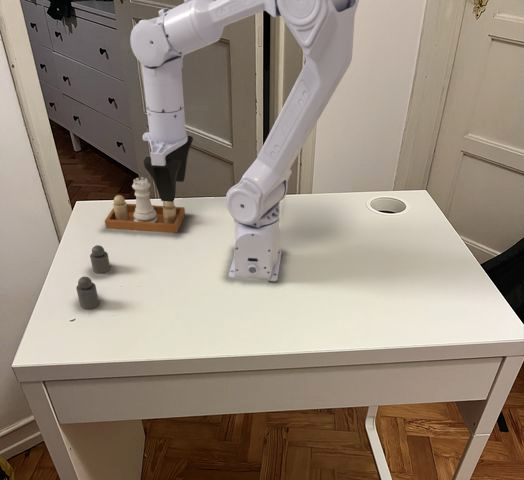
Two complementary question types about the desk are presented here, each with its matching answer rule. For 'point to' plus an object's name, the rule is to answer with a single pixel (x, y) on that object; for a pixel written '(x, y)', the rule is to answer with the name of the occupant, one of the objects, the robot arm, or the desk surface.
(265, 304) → the desk surface
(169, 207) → the ivory piece
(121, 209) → the ivory piece
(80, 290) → the grey pawn
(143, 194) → the rook chess piece
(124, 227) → the oak tray
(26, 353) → the desk surface
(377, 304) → the desk surface
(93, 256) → the grey pawn
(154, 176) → the robot arm
